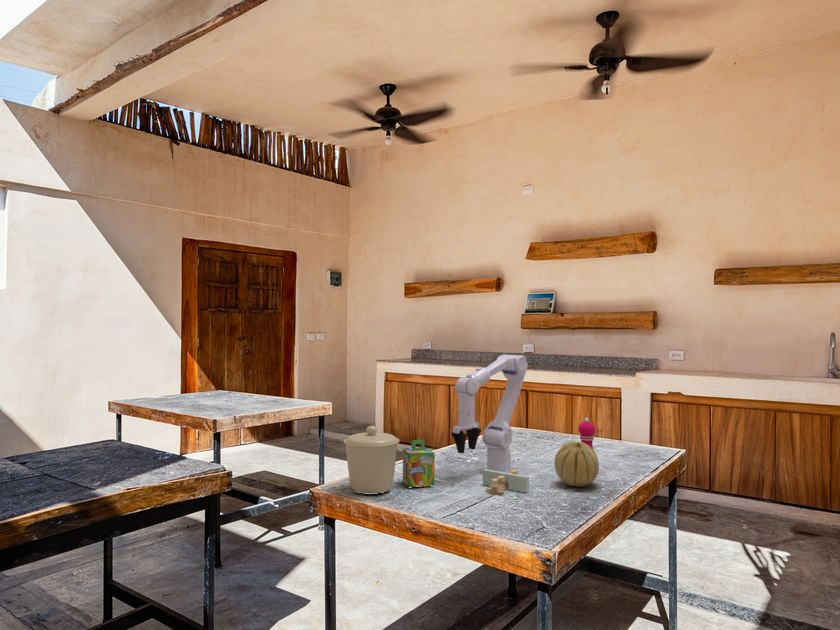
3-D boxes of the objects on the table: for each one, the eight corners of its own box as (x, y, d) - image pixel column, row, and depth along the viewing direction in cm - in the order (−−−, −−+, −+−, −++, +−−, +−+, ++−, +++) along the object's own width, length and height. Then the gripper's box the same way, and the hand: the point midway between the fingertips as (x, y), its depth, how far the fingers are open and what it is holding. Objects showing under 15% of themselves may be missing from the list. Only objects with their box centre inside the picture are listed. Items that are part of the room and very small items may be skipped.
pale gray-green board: (485, 483, 194) (485, 469, 194) (528, 491, 185) (528, 476, 185) (482, 485, 193) (482, 470, 193) (526, 493, 183) (526, 477, 183)
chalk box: (408, 489, 188) (408, 444, 188) (401, 482, 196) (401, 438, 197) (435, 487, 190) (435, 442, 190) (427, 480, 199) (427, 437, 199)
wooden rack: (507, 481, 197) (507, 468, 197) (523, 484, 193) (523, 471, 194) (485, 492, 184) (485, 478, 184) (502, 495, 180) (502, 481, 181)
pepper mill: (598, 475, 205) (598, 419, 206) (577, 474, 207) (577, 419, 207) (596, 470, 212) (595, 416, 213) (576, 469, 214) (575, 415, 214)
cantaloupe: (581, 478, 202) (581, 435, 202) (609, 489, 188) (608, 443, 188) (545, 482, 196) (545, 438, 197) (571, 493, 183) (571, 446, 183)
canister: (399, 483, 195) (399, 421, 195) (399, 499, 177) (399, 430, 177) (346, 483, 194) (346, 421, 195) (340, 499, 176) (340, 431, 177)
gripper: (465, 415, 192) (465, 456, 192) (486, 410, 204) (486, 448, 203) (448, 413, 196) (448, 453, 196) (469, 408, 208) (469, 446, 207)
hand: (466, 450), depth 200 cm, fingers open, 7 cm apart
